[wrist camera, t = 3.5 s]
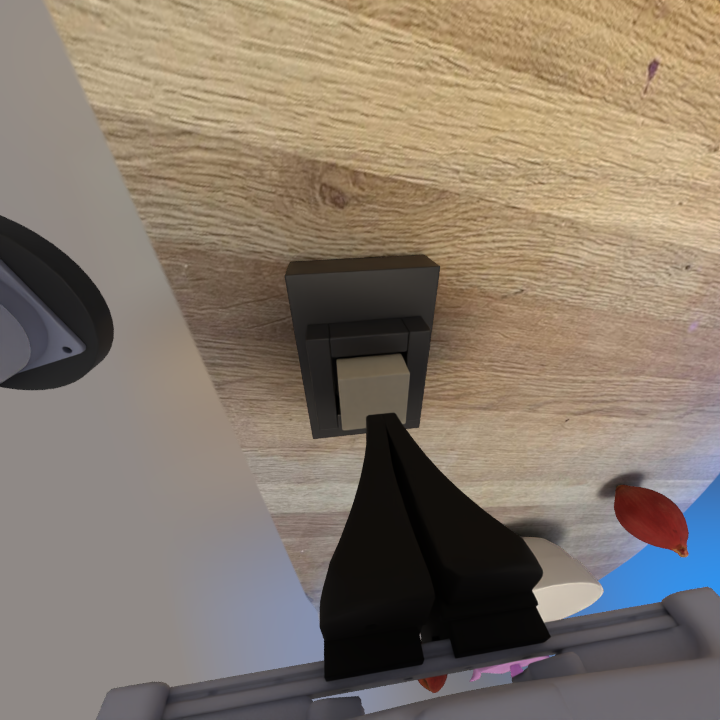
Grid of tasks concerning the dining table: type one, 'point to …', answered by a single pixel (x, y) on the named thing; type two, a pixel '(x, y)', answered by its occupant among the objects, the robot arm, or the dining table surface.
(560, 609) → the bowl
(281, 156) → the dining table surface
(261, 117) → the dining table surface
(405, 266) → the switch plate
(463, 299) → the dining table surface
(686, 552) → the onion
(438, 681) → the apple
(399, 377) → the switch
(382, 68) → the dining table surface
